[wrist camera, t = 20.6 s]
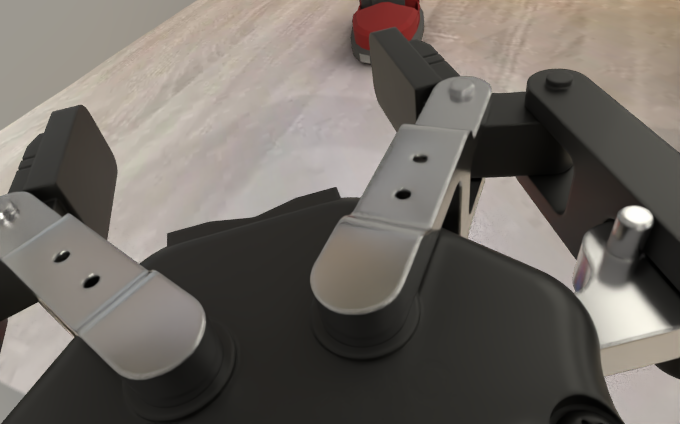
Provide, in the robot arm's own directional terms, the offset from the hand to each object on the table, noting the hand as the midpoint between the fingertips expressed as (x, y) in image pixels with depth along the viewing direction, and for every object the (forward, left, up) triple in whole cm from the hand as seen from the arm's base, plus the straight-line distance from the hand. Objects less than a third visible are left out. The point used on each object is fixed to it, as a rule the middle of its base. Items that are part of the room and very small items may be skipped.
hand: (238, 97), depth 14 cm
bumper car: (-56, +1, -23) cm, 60 cm away
